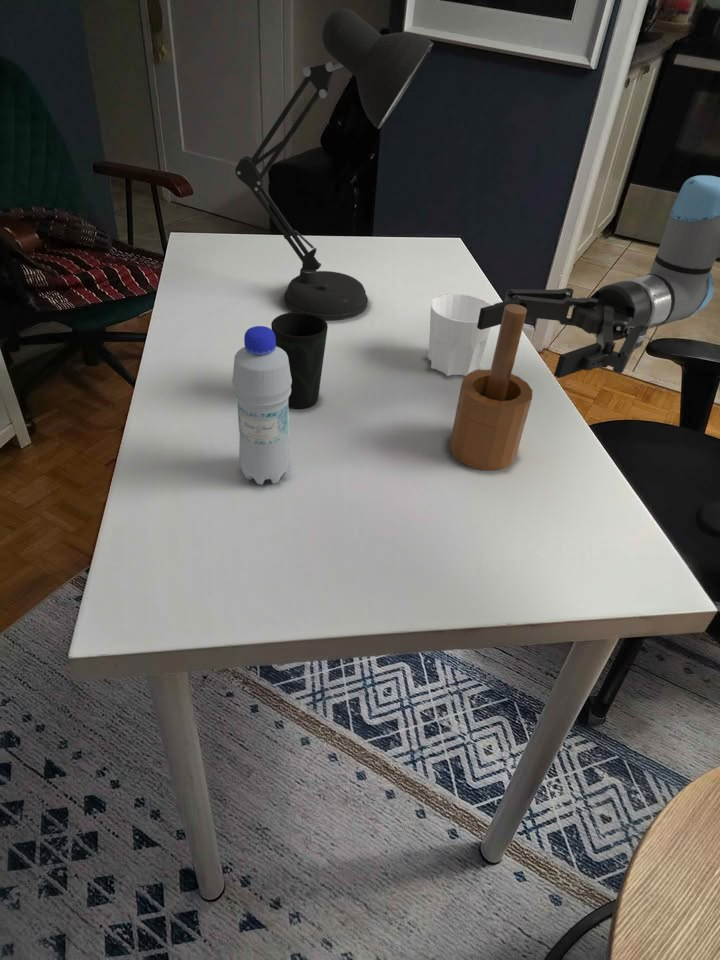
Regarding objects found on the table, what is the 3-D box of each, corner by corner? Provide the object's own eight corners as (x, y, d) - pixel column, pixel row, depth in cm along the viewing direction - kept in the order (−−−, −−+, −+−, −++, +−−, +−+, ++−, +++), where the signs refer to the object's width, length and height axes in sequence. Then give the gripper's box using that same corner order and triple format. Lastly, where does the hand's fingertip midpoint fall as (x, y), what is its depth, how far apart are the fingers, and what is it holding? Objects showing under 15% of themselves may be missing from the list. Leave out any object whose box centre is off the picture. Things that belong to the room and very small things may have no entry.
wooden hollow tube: (526, 448, 90) (543, 386, 84) (496, 479, 84) (513, 415, 78) (469, 423, 94) (482, 362, 87) (437, 451, 88) (449, 388, 81)
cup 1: (265, 406, 93) (262, 331, 86) (283, 381, 99) (283, 307, 92) (315, 417, 92) (317, 341, 85) (331, 390, 98) (334, 317, 90)
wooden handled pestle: (503, 444, 89) (538, 308, 76) (489, 457, 86) (524, 319, 73) (477, 433, 91) (508, 298, 78) (463, 446, 88) (492, 308, 75)
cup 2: (476, 349, 111) (487, 295, 105) (489, 380, 103) (501, 323, 97) (419, 348, 110) (426, 293, 104) (427, 378, 103) (436, 321, 96)
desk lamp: (423, 318, 119) (465, 20, 90) (296, 345, 108) (298, 15, 79) (356, 269, 135) (374, 2, 106) (240, 288, 124) (224, -4, 95)
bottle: (231, 485, 80) (219, 339, 67) (247, 453, 85) (239, 311, 72) (284, 494, 79) (282, 348, 66) (297, 461, 84) (298, 319, 72)
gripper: (695, 373, 84) (587, 417, 74) (553, 298, 99) (448, 327, 89) (720, 319, 79) (607, 360, 69) (566, 250, 94) (456, 275, 85)
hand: (517, 341), depth 79 cm, fingers open, 13 cm apart
